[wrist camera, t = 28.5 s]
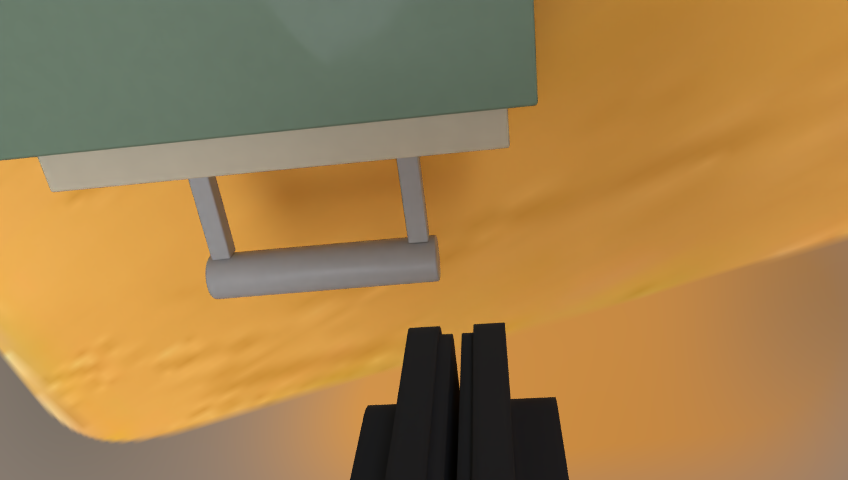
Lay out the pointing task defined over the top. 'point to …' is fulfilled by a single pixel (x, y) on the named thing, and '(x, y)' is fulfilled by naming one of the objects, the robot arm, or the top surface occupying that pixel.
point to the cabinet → (249, 67)
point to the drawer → (289, 151)
